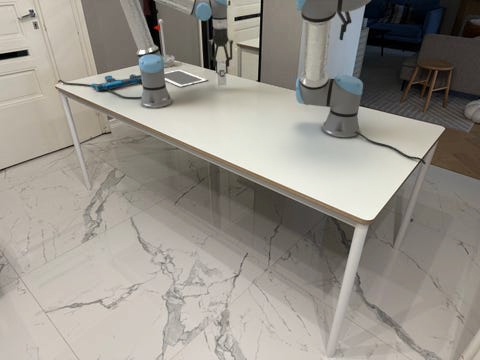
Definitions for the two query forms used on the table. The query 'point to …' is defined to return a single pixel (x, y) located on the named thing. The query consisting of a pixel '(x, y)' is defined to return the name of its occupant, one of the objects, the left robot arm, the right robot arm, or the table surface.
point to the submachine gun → (116, 82)
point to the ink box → (221, 72)
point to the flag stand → (167, 60)
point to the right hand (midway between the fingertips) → (326, 39)
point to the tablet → (182, 78)
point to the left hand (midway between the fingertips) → (221, 72)
